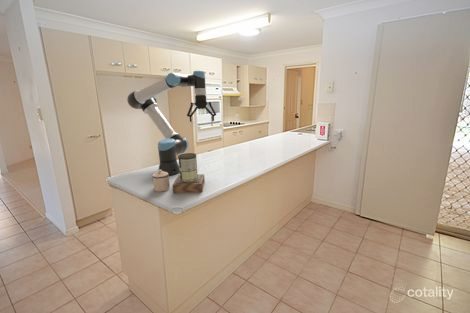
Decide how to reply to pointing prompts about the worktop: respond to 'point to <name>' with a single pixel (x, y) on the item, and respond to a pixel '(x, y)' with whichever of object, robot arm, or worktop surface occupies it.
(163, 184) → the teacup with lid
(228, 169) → the worktop surface
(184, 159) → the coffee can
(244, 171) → the worktop surface
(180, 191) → the riser block
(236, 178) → the worktop surface
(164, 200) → the worktop surface
